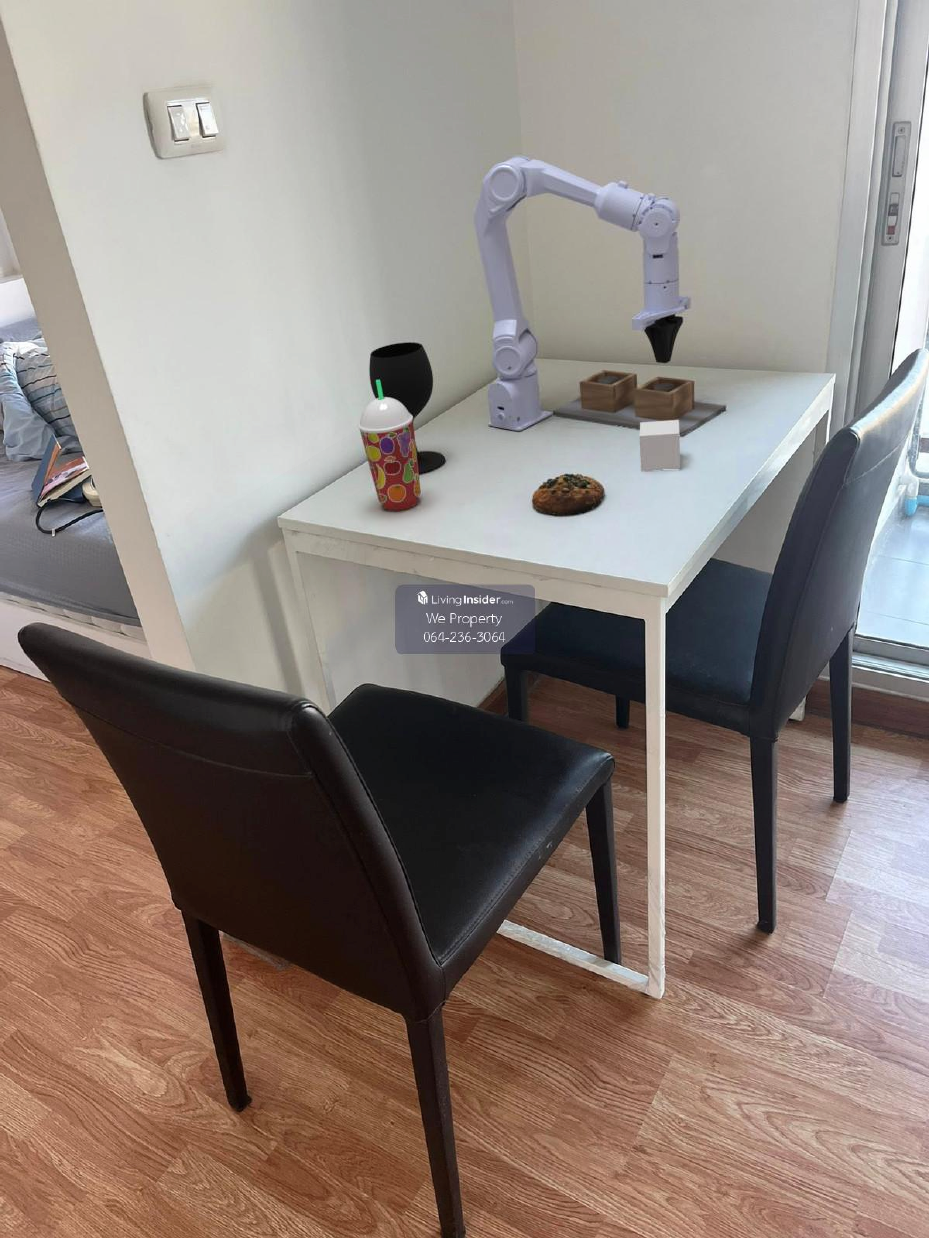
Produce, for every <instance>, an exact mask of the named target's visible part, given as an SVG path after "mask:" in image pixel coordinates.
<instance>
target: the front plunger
mask: <svg viewBox="0 0 929 1238" xmlns="http://www.w3.org/2000/svg"><path fill="white" fill-rule="evenodd" d="M674 389H675V385H674V384H672V383H661V384H657V385H655V386H654V390H657V391H664V392H670V391H672V390H674Z"/></svg>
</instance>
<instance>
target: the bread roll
mask: <svg viewBox="0 0 929 1238" xmlns="http://www.w3.org/2000/svg"><path fill="white" fill-rule="evenodd" d="M604 494H605V488H604V485H602V483H600V482H599V481H598V480H596V479H595V478H593V477H590V476H588V475H583V474H582V473H581V474H580V473H576V474H574V473H564V474H560V475H559V476H556V477H555V478H547V480H546V481H543V482H542V484H541V485H539V486H538V488H537V489H536V490H534V493H533V494H532V499H531V502H532V503H531V505H532V506H533V508H534V509H535V510H536V511H538V512H541V513H545V514H547V515H551V516H552V515H554V516H561V517H563V516H565V517H566V516H573V515H574V516H575V515H581V514H585V513H588V512H591V511H592V510H593V509H594V508H597V507H598V506H599V505H600V504H601V502H602V500H603V498H604Z"/></svg>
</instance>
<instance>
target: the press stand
mask: <svg viewBox="0 0 929 1238" xmlns="http://www.w3.org/2000/svg"><path fill="white" fill-rule="evenodd" d="M606 376H616V377H618V382H616V383H614V384H612V385H611V384H603V383H598V379H600V378H602V377H606ZM661 383H672V384H674V385H675V389H674V390H672V391H670V392H664V391H657V390H654V386H655V385H657V384H661ZM579 393H580V397H578V398H576V399H573V400H572V401H569V402H568V403H566V404H564V405H562V406H560V407H558V408H556V409H554V410H552V412H551V414H552V416H553V415H556V416H555V417H559V416H560V418H566V419H573V420H579V421H583V422H590V421H591V422H592V423H596V424H602V425H603V424H604V425H609V426H614V425H617V426H616V427H620V426H622V427H621V428H626V427H628V429H632V428H636V429H635V430H638V429H640V422H655V421H669V420H679V435H680V436H683V435H684V436H686V435H688V434H689V433H690V432H689V431H691V432H693V431H694V430H695V428H696V429H697V428H699V427H700V426H699V425H701V426H703V425H704V424H706V423H707V422H709V421H711V420H712V419H713V418H715V417H717V416H719V415H720V414H722V413H723V411H724V412H725V411H727V405H725V404H718V403H717V404H715V403H710V402H709V403H708V402H703V401H701V402H700V401H695V381H694V380H692V379H691V380H690V379H689V380H688V379H679V378H673V377H666V376H656V377H654V378H653V379H651V380H649V381H647V382H645V383H643V384H642V385H640V386H638V375H637V373H633V372H632V373H631V372H621V371H615V370H606V369H603V370H601V371H599V372H597V373H595V374H593V375H591V376H589V377H587V378H585V379H582V380H581V381H579ZM721 412H722V413H721ZM718 414H719V415H718ZM716 415H717V416H716ZM711 418H712V419H711ZM708 420H709V421H708ZM706 421H707V422H706ZM705 422H706V423H705ZM693 429H694V430H693ZM692 430H693V431H692ZM688 432H689V433H688ZM687 433H688V434H687ZM685 434H686V435H685ZM680 436H679V437H680ZM684 436H683V437H684Z"/></svg>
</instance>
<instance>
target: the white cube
mask: <svg viewBox="0 0 929 1238" xmlns="http://www.w3.org/2000/svg"><path fill="white" fill-rule="evenodd" d="M680 443H681V442H680V436H679V420H669V421H655V422H640V430H639V454H640V455H639V456H640V457H639V459H640V472H641V471H645V472H654V471H653V470H662V471H664V470H663V469H679V470H681V453H680V452H681V448H680V447H681V446H680V445H681V444H680Z"/></svg>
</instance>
